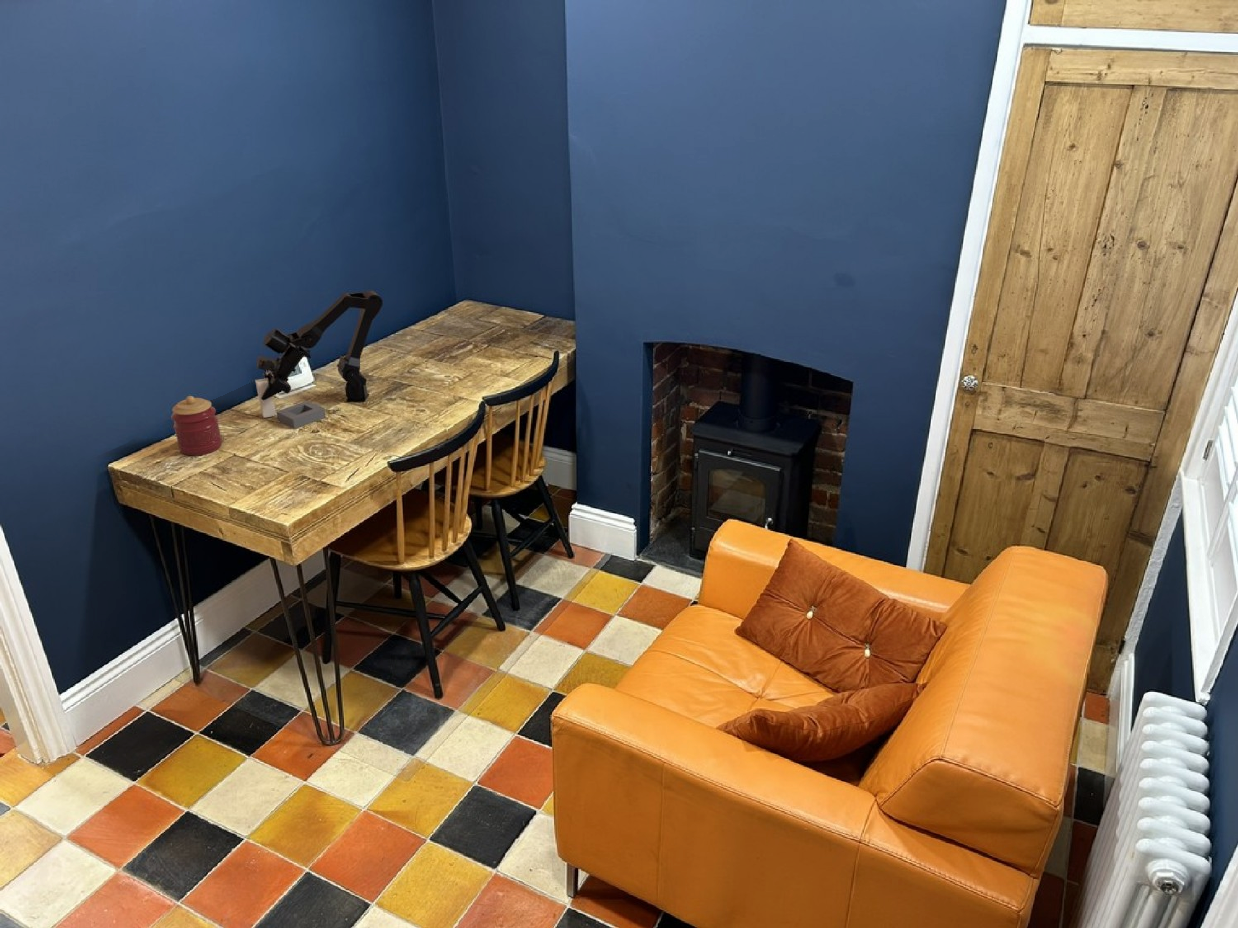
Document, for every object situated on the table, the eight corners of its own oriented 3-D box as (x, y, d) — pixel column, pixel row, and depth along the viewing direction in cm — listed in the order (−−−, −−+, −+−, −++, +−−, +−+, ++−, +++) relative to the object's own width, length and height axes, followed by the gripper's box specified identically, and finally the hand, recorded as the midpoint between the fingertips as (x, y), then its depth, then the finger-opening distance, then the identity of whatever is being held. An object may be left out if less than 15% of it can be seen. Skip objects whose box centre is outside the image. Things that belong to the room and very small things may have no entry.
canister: (198, 459, 292) (185, 407, 284) (170, 451, 297) (157, 399, 289) (232, 443, 302) (221, 393, 294) (204, 435, 307) (193, 385, 299)
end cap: (309, 409, 325) (307, 400, 323) (325, 417, 319) (324, 408, 318) (278, 421, 317) (276, 411, 315) (294, 429, 311) (293, 419, 310)
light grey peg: (274, 411, 322) (267, 377, 317) (276, 415, 320) (269, 381, 314) (262, 414, 321) (255, 380, 315) (264, 417, 318) (257, 383, 312)
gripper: (263, 339, 318) (235, 376, 319) (274, 356, 304) (245, 395, 304) (290, 357, 325) (263, 393, 326) (303, 374, 311) (274, 412, 311)
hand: (261, 397), depth 316 cm, fingers closed on light grey peg, 3 cm apart
